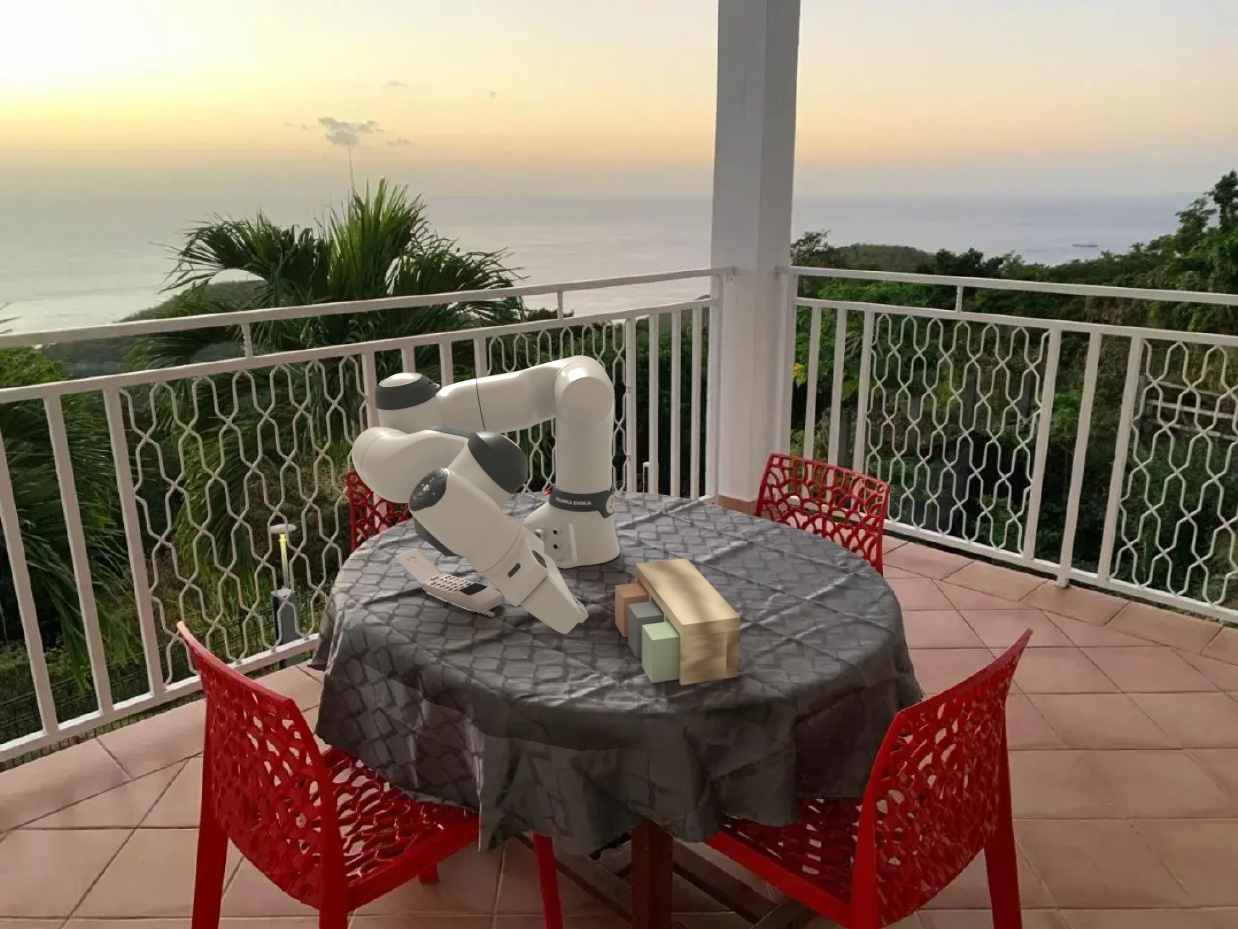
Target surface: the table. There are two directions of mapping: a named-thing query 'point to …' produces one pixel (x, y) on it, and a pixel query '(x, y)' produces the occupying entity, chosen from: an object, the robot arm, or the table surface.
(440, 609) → the table surface
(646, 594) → the terracotta key
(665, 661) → the sage key
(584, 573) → the table surface
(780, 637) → the table surface
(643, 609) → the slate key
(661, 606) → the key console
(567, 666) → the table surface
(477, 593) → the mobile phone
